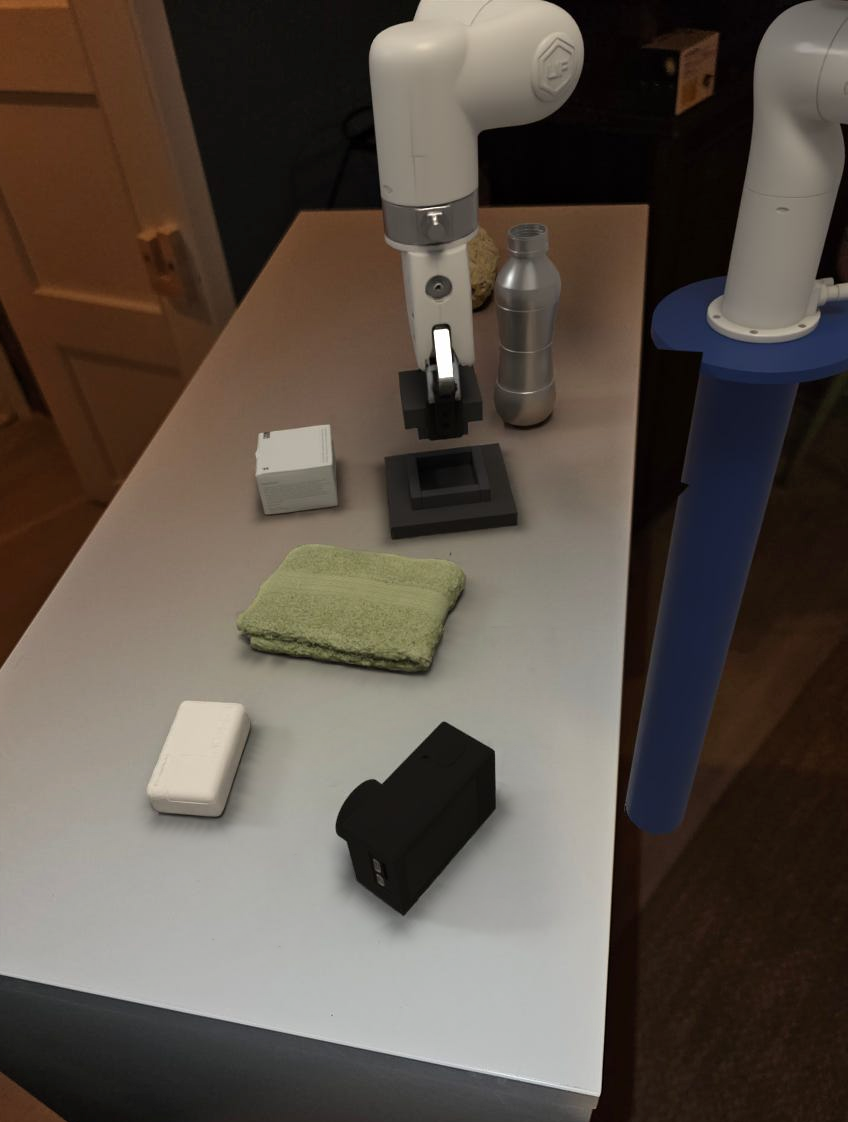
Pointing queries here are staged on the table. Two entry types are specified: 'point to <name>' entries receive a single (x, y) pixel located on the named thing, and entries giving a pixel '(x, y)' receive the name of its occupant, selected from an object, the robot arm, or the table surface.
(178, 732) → the soap
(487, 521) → the base pad
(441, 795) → the digital camera
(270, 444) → the small box
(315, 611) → the washcloth
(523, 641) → the table surface
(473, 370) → the top pad
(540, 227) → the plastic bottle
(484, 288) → the sponge
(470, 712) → the table surface
